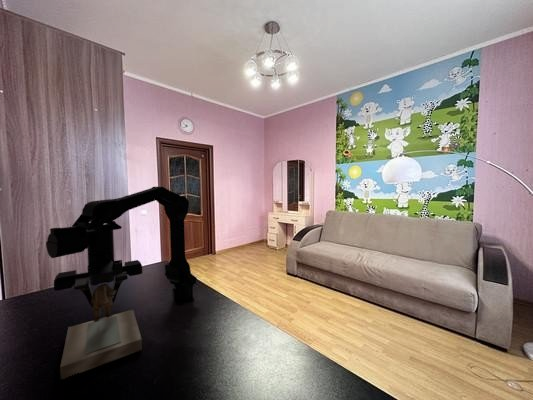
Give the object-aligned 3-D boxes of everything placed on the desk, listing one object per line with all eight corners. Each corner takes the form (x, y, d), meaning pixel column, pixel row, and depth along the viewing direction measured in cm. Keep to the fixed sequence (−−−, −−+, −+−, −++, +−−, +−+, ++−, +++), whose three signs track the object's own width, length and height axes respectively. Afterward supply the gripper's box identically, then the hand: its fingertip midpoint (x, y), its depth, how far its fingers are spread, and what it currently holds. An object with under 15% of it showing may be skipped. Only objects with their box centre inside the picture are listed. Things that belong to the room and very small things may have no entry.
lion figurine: (119, 317, 58) (116, 281, 59) (93, 326, 55) (90, 288, 56) (112, 307, 69) (109, 277, 70) (90, 314, 66) (88, 283, 67)
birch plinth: (133, 318, 75) (133, 308, 75) (141, 349, 60) (141, 338, 60) (68, 337, 65) (68, 326, 65) (60, 380, 51) (60, 366, 51)
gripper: (48, 262, 49) (51, 332, 50) (144, 248, 60) (146, 306, 61) (55, 251, 58) (58, 310, 59) (138, 241, 69) (140, 291, 70)
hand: (103, 304), depth 62 cm, fingers closed on lion figurine, 4 cm apart
